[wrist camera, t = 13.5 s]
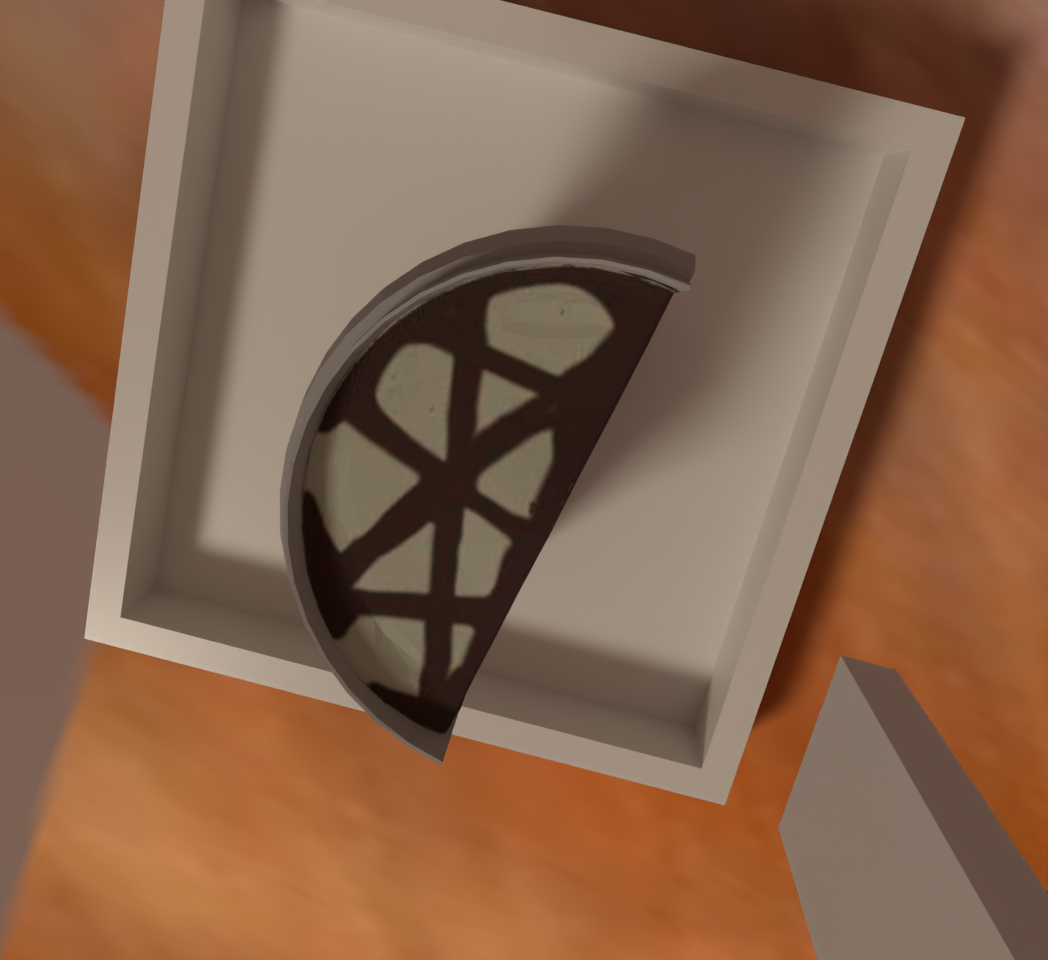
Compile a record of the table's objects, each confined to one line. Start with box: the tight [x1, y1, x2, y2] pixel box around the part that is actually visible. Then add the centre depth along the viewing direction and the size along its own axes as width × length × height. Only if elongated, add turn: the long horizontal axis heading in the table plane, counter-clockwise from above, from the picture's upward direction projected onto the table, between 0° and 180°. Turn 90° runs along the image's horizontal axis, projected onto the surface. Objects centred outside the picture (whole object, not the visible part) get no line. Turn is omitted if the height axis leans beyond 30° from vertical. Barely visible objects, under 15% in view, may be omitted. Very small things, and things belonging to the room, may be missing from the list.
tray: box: [85, 0, 965, 805], centre depth 28 cm, size 20×20×3 cm
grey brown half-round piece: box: [280, 225, 695, 765], centre depth 24 cm, size 12×6×10 cm, turn 154°
